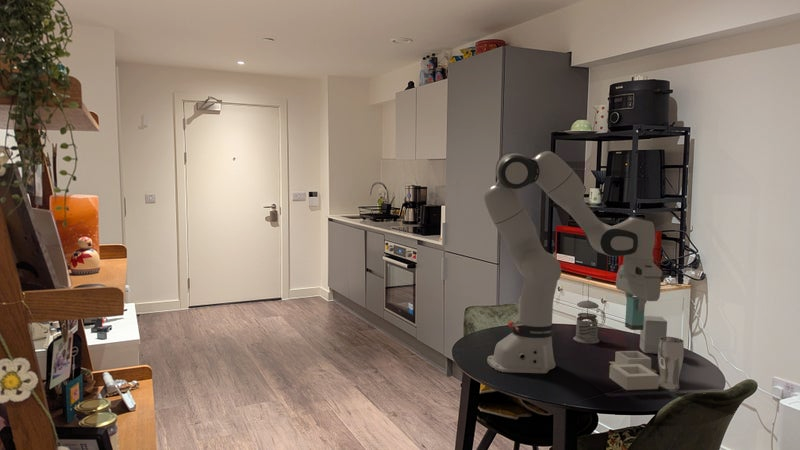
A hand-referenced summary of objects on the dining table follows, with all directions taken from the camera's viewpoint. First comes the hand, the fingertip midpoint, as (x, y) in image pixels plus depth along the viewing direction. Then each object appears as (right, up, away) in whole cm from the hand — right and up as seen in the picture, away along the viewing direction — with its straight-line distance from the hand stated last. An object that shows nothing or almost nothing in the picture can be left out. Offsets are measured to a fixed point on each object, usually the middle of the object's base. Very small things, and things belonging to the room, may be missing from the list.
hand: (635, 308), depth 182 cm
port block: (-6, -22, -13) cm, 26 cm away
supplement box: (+15, -19, +20) cm, 31 cm away
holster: (0, -20, +2) cm, 20 cm away
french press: (-3, -18, +35) cm, 39 cm away
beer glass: (+4, -22, -14) cm, 27 cm away
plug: (0, -7, +1) cm, 7 cm away
